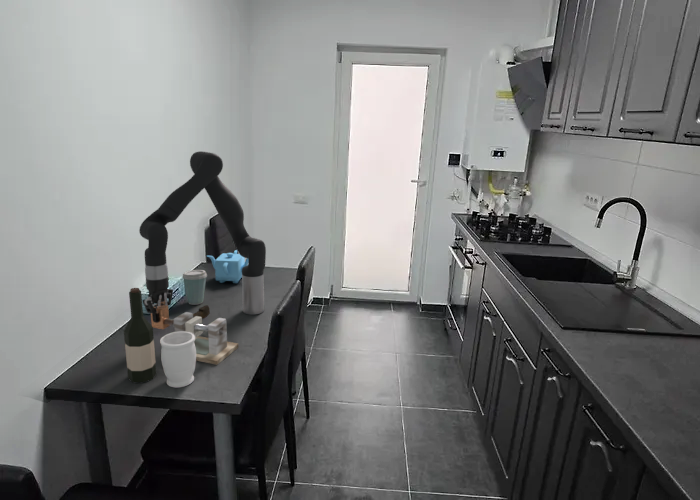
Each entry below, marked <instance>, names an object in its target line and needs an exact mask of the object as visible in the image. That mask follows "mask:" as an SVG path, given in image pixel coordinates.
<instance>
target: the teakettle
mask: <svg viewBox="0 0 700 500" xmlns="http://www.w3.org/2000/svg"><path fill="white" fill-rule="evenodd" d="M206 257H207V258H209V259H210V260H211V264H212V267H213V269H214V270H215V271H214V273H215V275H214V276H215V281H218V282H219V283H220V284H223V283H225V282H232V283H233V284H239V282H240V280H242V279H241V278H242V268H243V267H245V266H248V262H249V259H248V258H244V257H242V256H241V255H240V254H239V253H238V251H237V249H236V250H234V252H227V253H225V252H224V253H221V254H220V255H219V256H218V257H217V258H216V259H215V257H214V256H213V255H206Z"/></svg>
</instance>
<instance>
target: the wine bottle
mask: <svg viewBox="0 0 700 500" xmlns="http://www.w3.org/2000/svg"><path fill="white" fill-rule="evenodd" d="M128 295H129V297H128V298H129V307H130V318H129V321H128V323H127V324H126V327H125V328H124V330H123V337H124V346H125V347H124V348H125V358H126V359H125V360H126V367H127V368H126V369H127V378H128V380H129V379H130V380H131V381H132V382H144V383H146V381H147V382H149V381H151V379H152V380H154V379H155V377H156V375H157V365H156V352H155V351H156V350H155V340H154V328H153V327H152V323H151V322H149V321H148V320H147V318H146V317H145V316H144V309H143V297H142V296H143V295H142V291H141V290H140V288H139V287H133V288H130V291H129V292H128ZM130 380H129V381H130ZM148 380H149V381H148ZM131 381H130V382H131ZM132 382H131V383H132Z"/></svg>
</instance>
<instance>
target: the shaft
mask: <svg viewBox="0 0 700 500" xmlns="http://www.w3.org/2000/svg"><path fill="white" fill-rule="evenodd" d="M154 310H156V307H154ZM158 313H159V322H158V323H155V322H153V319H152V313H150V320H151V322H150V323H151V326H152V327H153V329H154V328H155V329H159V330H165V329H167V328H169V327H170V326H172V327H174V318H173V319H172V318H170V315H169V306H167V305H161V304H160V307H159V312H158ZM194 330H199V331H203V332H205V333H208V325H204V324H202V325H201V324H196V325H195V326H194Z"/></svg>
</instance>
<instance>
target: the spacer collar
mask: <svg viewBox="0 0 700 500" xmlns="http://www.w3.org/2000/svg"><path fill="white" fill-rule="evenodd" d="M196 324H201V325H203V319H202V317H199V316H195V317H194V318H192V319H190V320H189V321H187V322H185V329H186V332H191V333H193V334H194V335H195V338H196V337H198V336H201V335H202V334H203V332H204V331H199V330H194V326H195V325H196Z"/></svg>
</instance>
